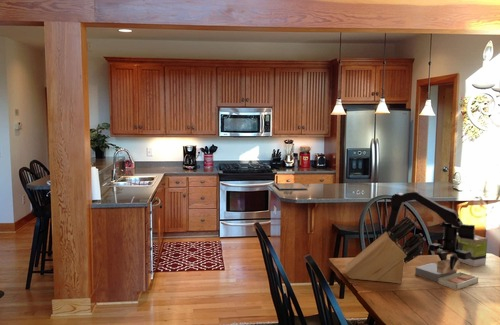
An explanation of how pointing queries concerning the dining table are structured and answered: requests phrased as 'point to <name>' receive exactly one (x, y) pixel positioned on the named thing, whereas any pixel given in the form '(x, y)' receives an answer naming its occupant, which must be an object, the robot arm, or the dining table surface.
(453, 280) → the tile near
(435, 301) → the dining table surface
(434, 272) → the board
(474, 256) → the tea box
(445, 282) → the tray
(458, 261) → the strip
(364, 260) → the knife block
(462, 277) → the tile far
